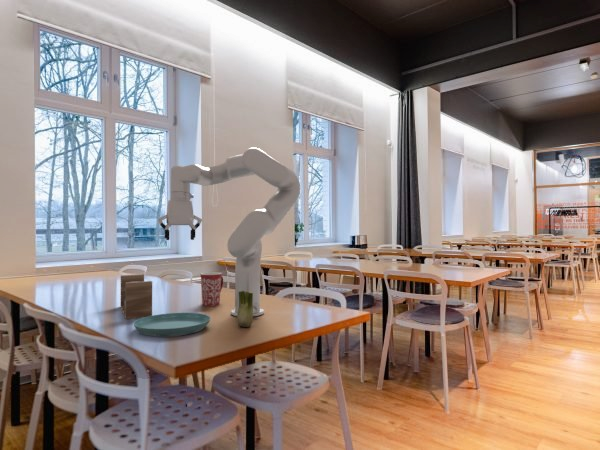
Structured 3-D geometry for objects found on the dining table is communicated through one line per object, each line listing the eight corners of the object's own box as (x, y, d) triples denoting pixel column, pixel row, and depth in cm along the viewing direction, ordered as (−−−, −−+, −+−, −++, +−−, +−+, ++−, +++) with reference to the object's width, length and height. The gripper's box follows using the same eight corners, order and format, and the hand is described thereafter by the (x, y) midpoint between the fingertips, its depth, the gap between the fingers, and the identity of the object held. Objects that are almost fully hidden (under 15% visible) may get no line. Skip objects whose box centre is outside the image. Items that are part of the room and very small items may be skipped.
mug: (212, 307, 171) (213, 274, 171) (195, 305, 175) (195, 273, 175) (230, 302, 183) (230, 272, 183) (214, 300, 187) (214, 270, 187)
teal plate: (200, 318, 151) (200, 309, 151) (219, 333, 130) (219, 323, 130) (129, 325, 140) (130, 315, 140) (137, 343, 119) (137, 332, 119)
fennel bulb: (254, 327, 137) (255, 291, 137) (240, 329, 134) (241, 292, 134) (248, 324, 142) (248, 289, 142) (234, 325, 139) (234, 290, 140)
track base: (152, 316, 153) (152, 281, 153) (125, 319, 149) (126, 283, 149) (143, 304, 176) (143, 274, 176) (120, 306, 172) (120, 275, 172)
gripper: (199, 198, 172) (199, 239, 172) (156, 197, 164) (156, 239, 164) (204, 197, 165) (204, 239, 165) (159, 195, 157) (159, 240, 157)
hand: (180, 239), depth 165 cm, fingers open, 9 cm apart
